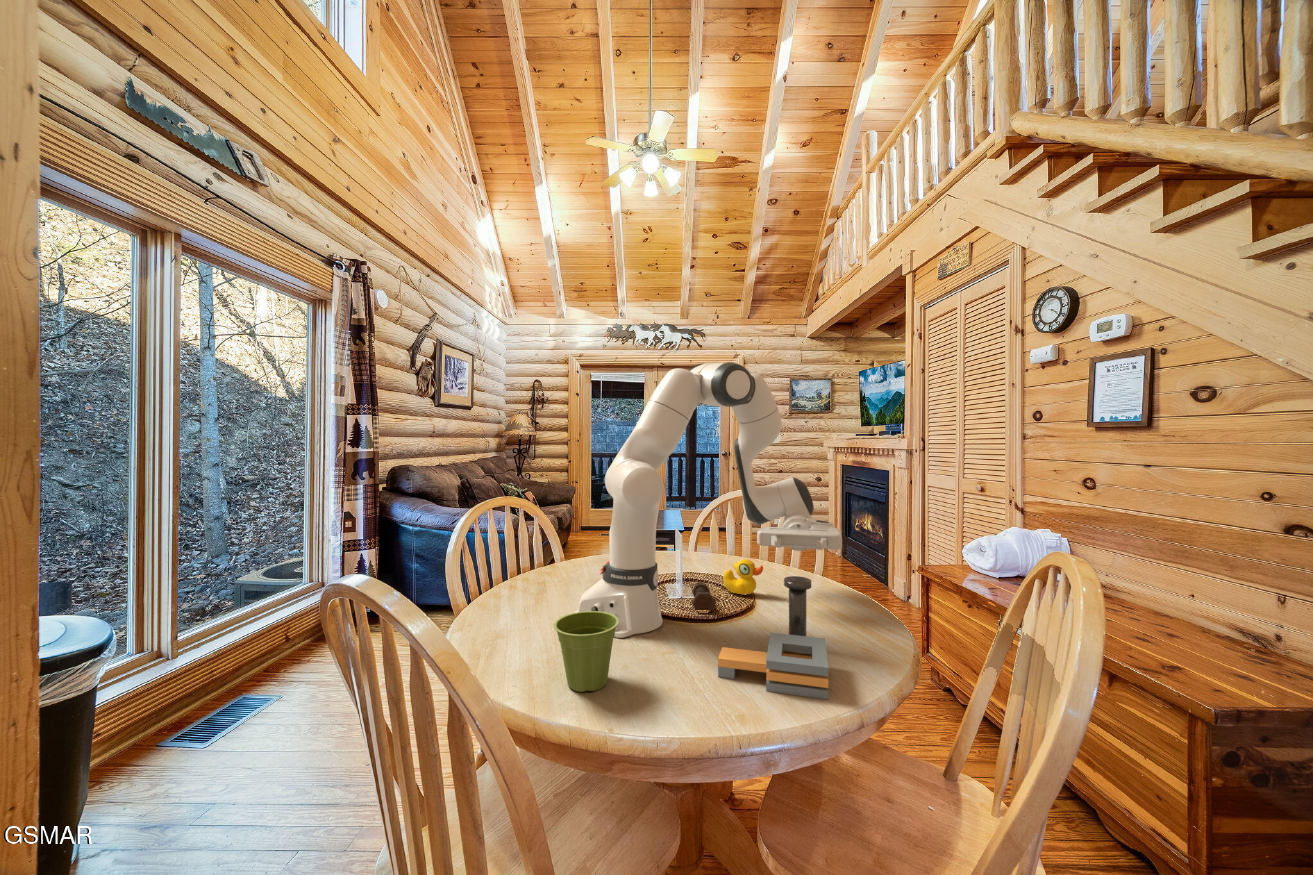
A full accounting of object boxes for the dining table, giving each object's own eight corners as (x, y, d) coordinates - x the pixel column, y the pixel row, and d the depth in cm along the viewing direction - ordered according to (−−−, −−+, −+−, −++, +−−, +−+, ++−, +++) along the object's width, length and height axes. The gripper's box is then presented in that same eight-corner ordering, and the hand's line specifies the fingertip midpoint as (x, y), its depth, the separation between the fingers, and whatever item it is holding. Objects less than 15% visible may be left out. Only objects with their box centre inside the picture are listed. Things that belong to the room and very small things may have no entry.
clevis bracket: (715, 683, 91) (715, 654, 91) (725, 654, 103) (725, 627, 103) (828, 699, 85) (828, 667, 85) (825, 666, 97) (825, 638, 97)
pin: (783, 650, 104) (783, 582, 104) (784, 639, 110) (784, 575, 110) (811, 653, 103) (811, 585, 103) (811, 642, 108) (811, 577, 108)
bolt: (702, 600, 140) (706, 619, 125) (687, 591, 141) (689, 608, 126) (712, 582, 140) (718, 598, 125) (697, 573, 141) (700, 588, 126)
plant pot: (627, 670, 96) (626, 612, 96) (607, 704, 85) (606, 638, 84) (569, 664, 99) (569, 607, 99) (542, 696, 87) (542, 631, 87)
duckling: (766, 595, 139) (765, 559, 139) (760, 601, 134) (760, 564, 134) (727, 588, 144) (727, 554, 144) (720, 594, 140) (720, 558, 139)
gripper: (758, 519, 134) (753, 529, 120) (839, 522, 128) (843, 533, 115) (758, 542, 134) (753, 555, 121) (839, 546, 128) (844, 561, 115)
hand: (798, 545), depth 118 cm, fingers open, 8 cm apart
